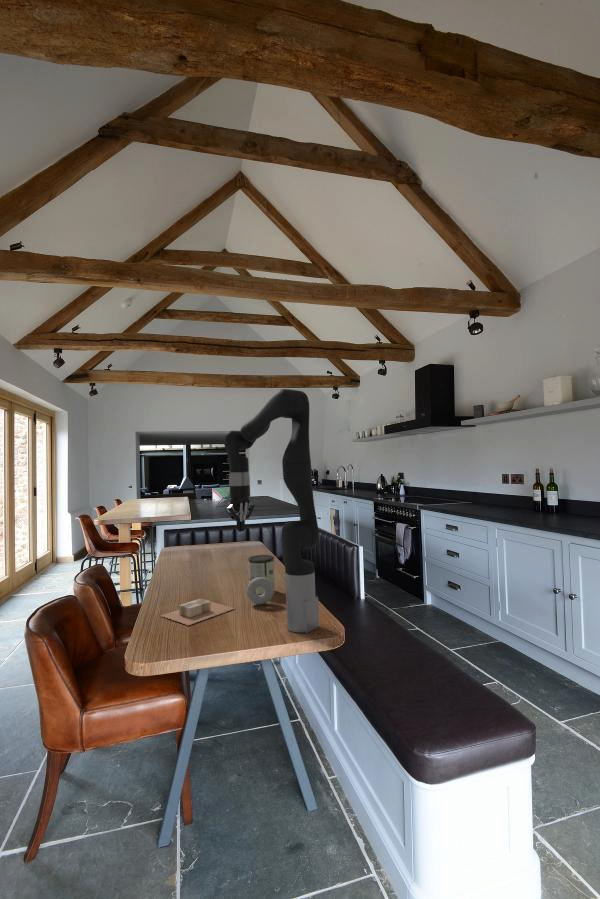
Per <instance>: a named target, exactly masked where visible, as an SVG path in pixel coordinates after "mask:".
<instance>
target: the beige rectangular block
mask: <svg viewBox="0 0 600 899" xmlns="http://www.w3.org/2000/svg"><path fill="white" fill-rule="evenodd" d="M211 602H212V600H208V599H203V598H197V599H194V600H191V601H188V602H186V603H182V604H179V605H178V610H179V614H180V615H182V616H185V617H188V618H192V617H194V616H197V615H200V614H203V613H206V612H208V611H210V610H211Z"/></svg>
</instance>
